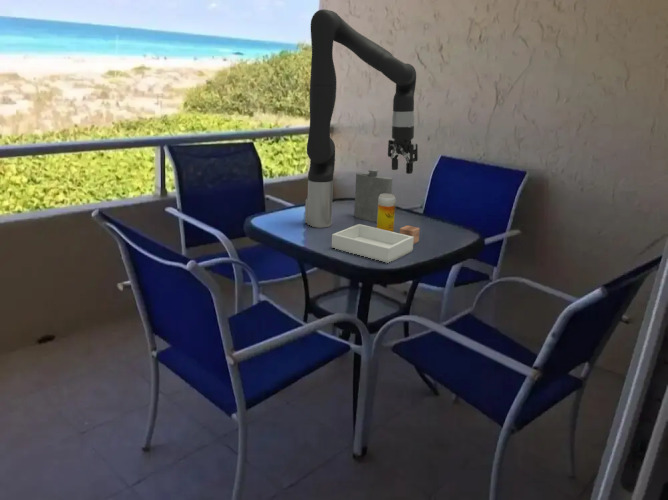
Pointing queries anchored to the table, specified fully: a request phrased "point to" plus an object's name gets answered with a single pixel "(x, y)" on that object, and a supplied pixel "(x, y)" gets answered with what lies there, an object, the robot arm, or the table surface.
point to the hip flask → (370, 194)
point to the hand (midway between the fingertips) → (401, 171)
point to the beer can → (386, 212)
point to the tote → (373, 243)
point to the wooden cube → (411, 232)
